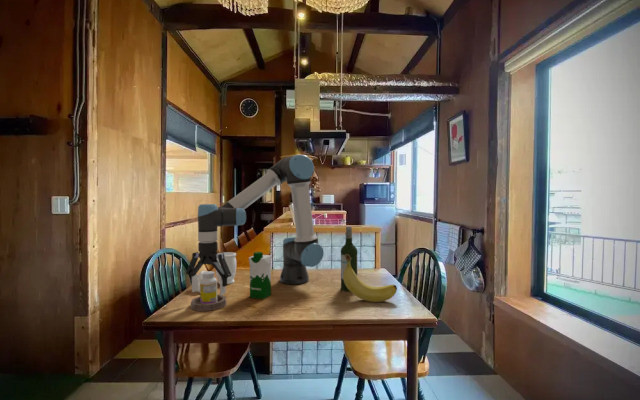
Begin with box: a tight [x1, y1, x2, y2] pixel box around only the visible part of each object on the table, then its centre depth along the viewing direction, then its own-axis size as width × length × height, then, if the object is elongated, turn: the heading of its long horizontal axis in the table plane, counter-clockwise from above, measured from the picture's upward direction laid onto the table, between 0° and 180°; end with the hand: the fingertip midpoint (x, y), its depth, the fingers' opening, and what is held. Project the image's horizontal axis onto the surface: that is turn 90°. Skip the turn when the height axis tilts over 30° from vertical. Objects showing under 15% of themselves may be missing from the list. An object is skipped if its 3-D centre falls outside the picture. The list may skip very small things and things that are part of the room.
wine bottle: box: [340, 226, 358, 293], centre depth 154 cm, size 8×8×30 cm
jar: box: [215, 251, 237, 285], centre depth 168 cm, size 11×10×15 cm
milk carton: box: [248, 251, 273, 300], centre depth 145 cm, size 9×9×20 cm
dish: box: [190, 294, 227, 312], centre depth 133 cm, size 14×14×2 cm
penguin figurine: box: [197, 270, 209, 293], centre depth 154 cm, size 6×8×12 cm
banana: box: [343, 254, 398, 303], centre depth 137 cm, size 23×6×20 cm, turn 82°
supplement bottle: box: [199, 270, 218, 304], centre depth 133 cm, size 7×7×13 cm
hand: (208, 292), depth 133 cm, fingers open, 13 cm apart
